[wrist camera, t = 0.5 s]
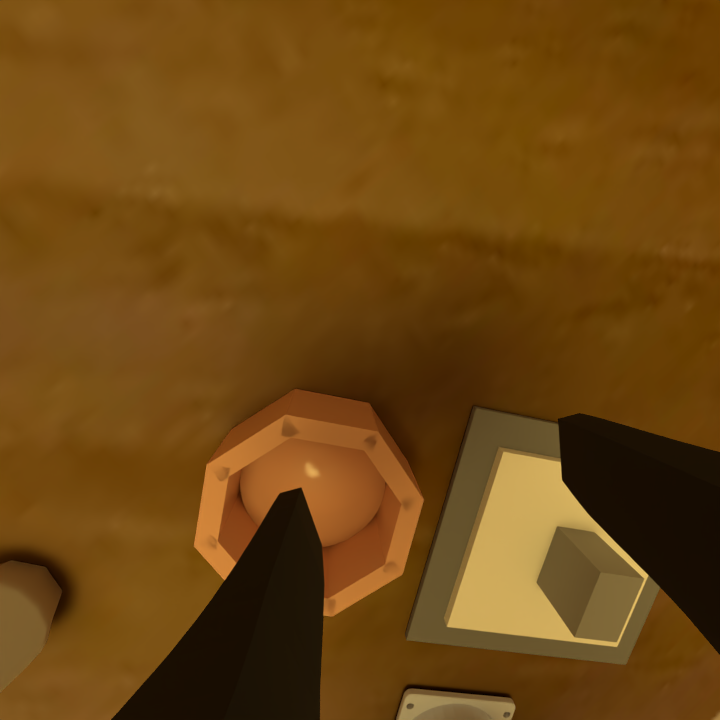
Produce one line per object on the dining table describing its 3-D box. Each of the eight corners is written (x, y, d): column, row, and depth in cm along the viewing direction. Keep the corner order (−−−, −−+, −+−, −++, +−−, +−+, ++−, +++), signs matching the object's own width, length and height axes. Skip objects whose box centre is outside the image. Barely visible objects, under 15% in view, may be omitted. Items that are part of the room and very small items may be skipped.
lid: (610, 638, 24) (665, 708, 20) (443, 618, 23) (468, 689, 19) (678, 480, 22) (756, 523, 18) (498, 446, 20) (539, 485, 16)
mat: (620, 658, 25) (625, 664, 25) (405, 634, 23) (406, 640, 23) (711, 453, 22) (718, 456, 22) (473, 405, 20) (476, 408, 20)
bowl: (378, 563, 22) (388, 623, 18) (213, 540, 21) (185, 599, 17) (419, 412, 20) (440, 442, 16) (240, 377, 19) (216, 401, 15)
